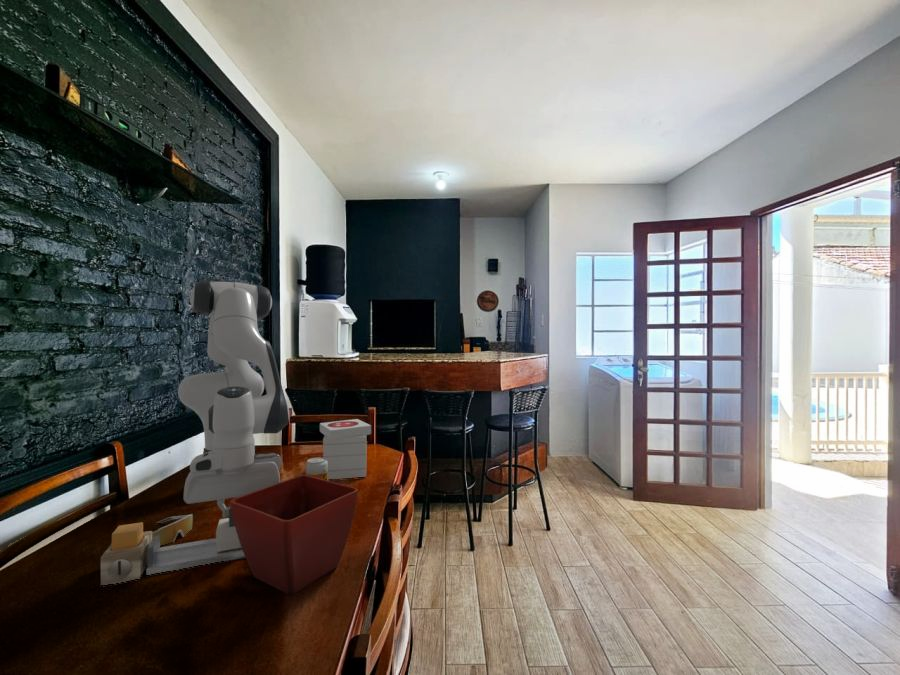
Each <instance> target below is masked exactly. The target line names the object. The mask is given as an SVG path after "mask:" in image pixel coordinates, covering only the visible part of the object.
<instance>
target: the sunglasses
mask: <svg viewBox="0 0 900 675" xmlns="http://www.w3.org/2000/svg"><path fill="white" fill-rule="evenodd" d="M171 520H176V521H174V522H172V523H169V524H168V525H165V526H162V527H160V528H158V529H157V530H155V531H152V540H153V538H154V537H155V536H157V535H160V546H161V545H164V546H166V545H165V544H167V545H169V544H168V543H170V544H171V542H173V543H174V542H175V540H176V538H177V536H178V535H179V536H180V537H181V538H184V537H186V536H187V535H188V534H189V533H190V532H191V531H190V530H192V528H193V525H194V524H193V521H194V517H193V514H192V513H191V514H185V515H177V516H176V515H175V516H174V515H173V516H170V517H166V518H164V519H162V520H159V521H158V522H156V523H161V524H163V523H166V522H169V521H171ZM189 531H190V532H189ZM188 532H189V533H188ZM187 533H188V534H187ZM186 534H187V535H186ZM161 547H162V546H161Z"/></svg>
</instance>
